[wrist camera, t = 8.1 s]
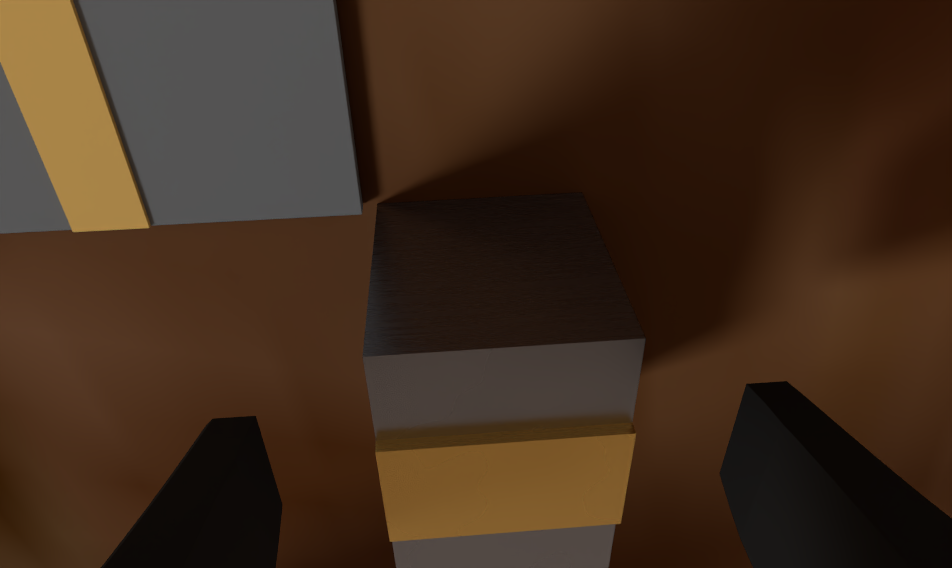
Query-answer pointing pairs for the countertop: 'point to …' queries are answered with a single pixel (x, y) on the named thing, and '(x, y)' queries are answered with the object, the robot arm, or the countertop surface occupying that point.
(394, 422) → the link
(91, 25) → the pad
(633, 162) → the countertop surface
